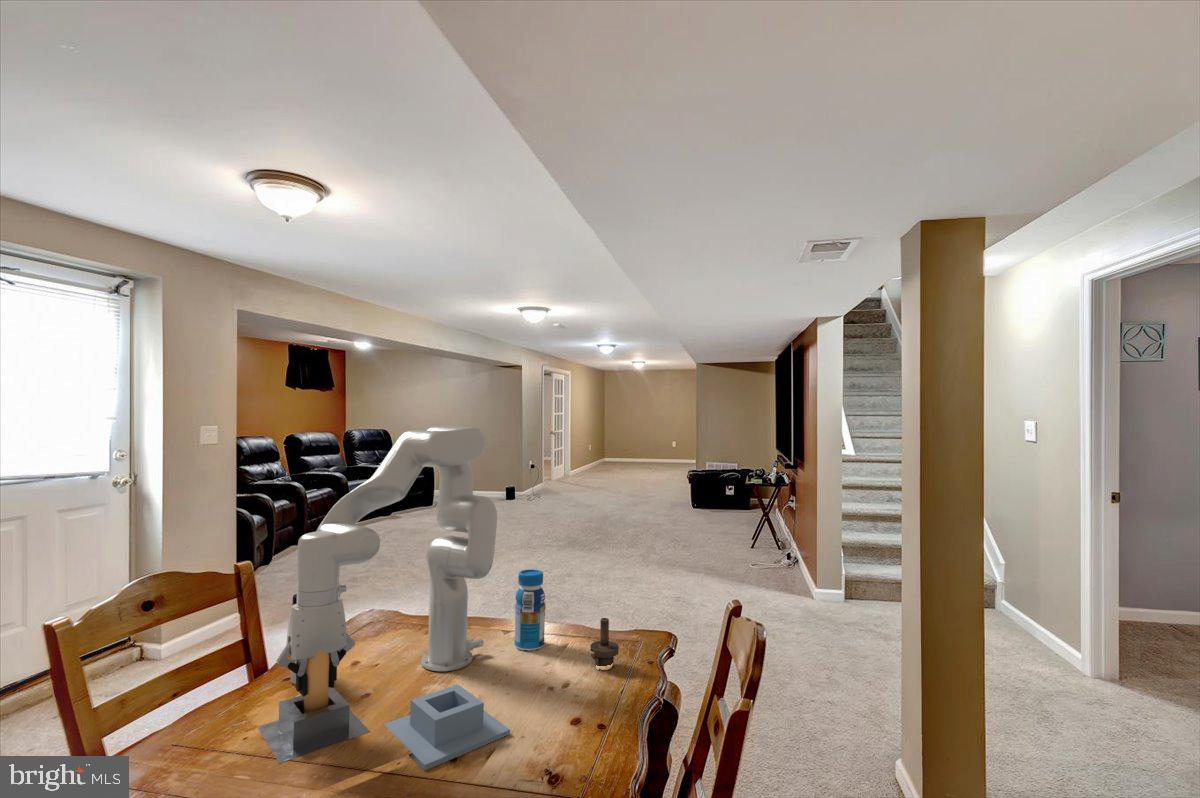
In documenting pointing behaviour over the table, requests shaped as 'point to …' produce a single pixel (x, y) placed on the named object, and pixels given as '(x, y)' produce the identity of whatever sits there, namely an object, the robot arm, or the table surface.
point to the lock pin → (317, 682)
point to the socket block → (445, 726)
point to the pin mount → (310, 727)
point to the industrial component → (604, 646)
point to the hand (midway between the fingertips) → (316, 688)
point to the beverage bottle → (530, 611)
